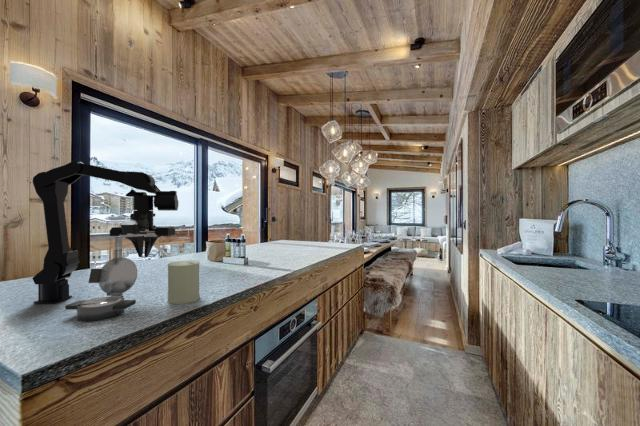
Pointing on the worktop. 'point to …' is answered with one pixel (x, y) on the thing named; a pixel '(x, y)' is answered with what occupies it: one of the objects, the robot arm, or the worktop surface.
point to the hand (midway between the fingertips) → (143, 257)
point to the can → (183, 282)
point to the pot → (100, 308)
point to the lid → (115, 276)
